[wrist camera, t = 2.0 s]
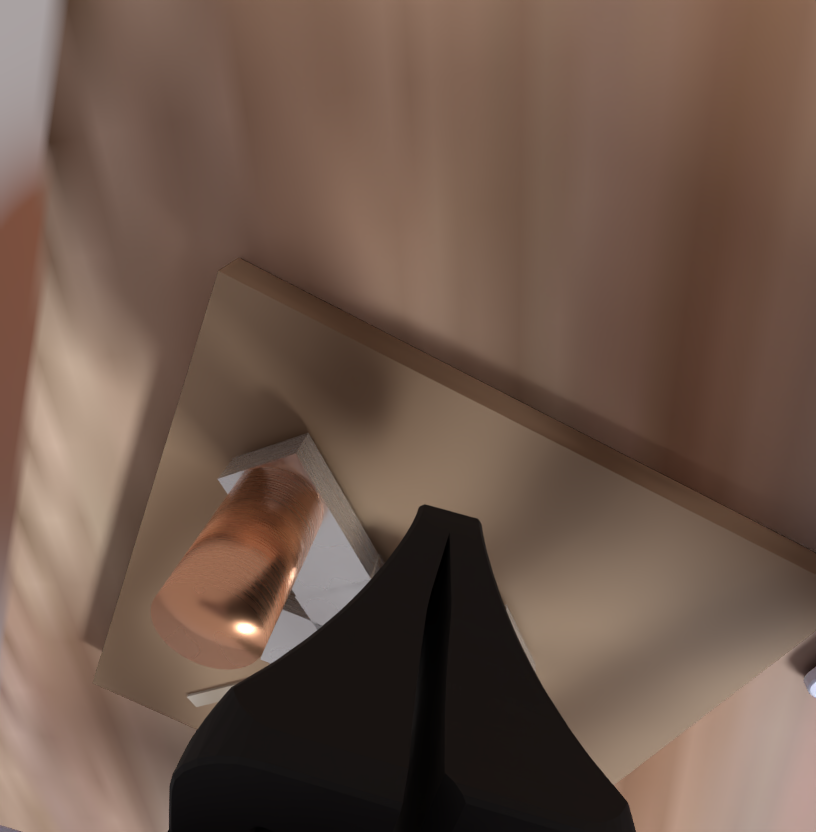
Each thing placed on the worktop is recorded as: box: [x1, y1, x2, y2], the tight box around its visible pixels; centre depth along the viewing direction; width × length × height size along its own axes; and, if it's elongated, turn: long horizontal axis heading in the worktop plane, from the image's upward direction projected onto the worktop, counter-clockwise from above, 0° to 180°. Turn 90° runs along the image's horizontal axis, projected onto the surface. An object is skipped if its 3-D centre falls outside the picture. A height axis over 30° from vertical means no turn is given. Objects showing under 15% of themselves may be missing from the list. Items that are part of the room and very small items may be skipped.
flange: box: [151, 433, 536, 673], centre depth 16 cm, size 12×8×5 cm, turn 25°
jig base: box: [93, 258, 816, 785], centre depth 18 cm, size 18×18×6 cm
